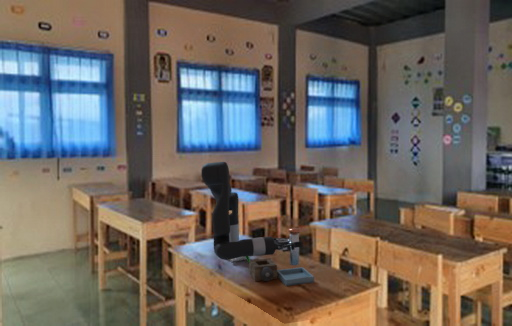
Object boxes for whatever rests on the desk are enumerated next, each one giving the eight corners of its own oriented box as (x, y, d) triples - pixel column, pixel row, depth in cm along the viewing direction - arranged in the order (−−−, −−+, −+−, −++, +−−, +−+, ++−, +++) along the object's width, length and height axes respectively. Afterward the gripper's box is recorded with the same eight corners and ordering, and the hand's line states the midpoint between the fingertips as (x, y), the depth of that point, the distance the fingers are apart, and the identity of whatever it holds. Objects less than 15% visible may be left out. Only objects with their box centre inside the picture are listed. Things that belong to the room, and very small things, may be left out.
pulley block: (249, 273, 186) (248, 260, 185) (270, 271, 188) (270, 258, 188) (256, 283, 174) (256, 269, 173) (279, 280, 176) (278, 266, 176)
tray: (276, 275, 182) (276, 270, 182) (302, 272, 185) (302, 267, 185) (285, 286, 170) (285, 280, 170) (314, 282, 173) (313, 276, 173)
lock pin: (287, 262, 178) (286, 228, 177) (297, 261, 180) (297, 227, 179) (291, 266, 174) (290, 230, 173) (301, 265, 175) (301, 229, 174)
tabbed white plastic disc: (251, 254, 210) (258, 238, 205) (259, 266, 205) (266, 250, 200) (227, 260, 202) (233, 244, 196) (234, 272, 196) (241, 256, 191)
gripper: (266, 241, 165) (306, 238, 170) (257, 233, 179) (294, 230, 183) (267, 259, 166) (306, 255, 170) (257, 250, 179) (294, 247, 184)
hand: (300, 242), depth 177 cm, fingers closed on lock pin, 4 cm apart
